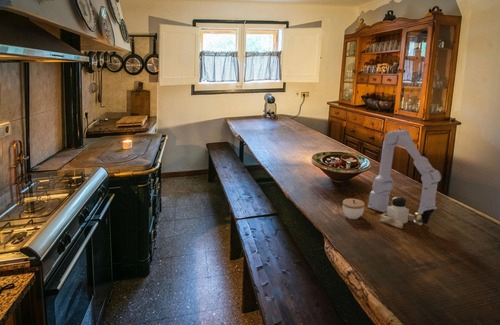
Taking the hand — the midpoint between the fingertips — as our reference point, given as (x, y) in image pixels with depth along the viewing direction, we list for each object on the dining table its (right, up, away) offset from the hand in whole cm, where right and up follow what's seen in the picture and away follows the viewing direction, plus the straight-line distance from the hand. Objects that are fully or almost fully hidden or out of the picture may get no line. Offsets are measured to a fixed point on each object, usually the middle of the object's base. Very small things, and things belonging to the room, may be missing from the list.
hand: (424, 223), depth 162 cm
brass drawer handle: (-1, +1, +3) cm, 3 cm away
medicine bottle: (-10, -1, +9) cm, 13 cm away
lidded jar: (-30, +1, +14) cm, 33 cm away
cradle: (-10, 0, +8) cm, 13 cm away
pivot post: (0, -1, +7) cm, 7 cm away
